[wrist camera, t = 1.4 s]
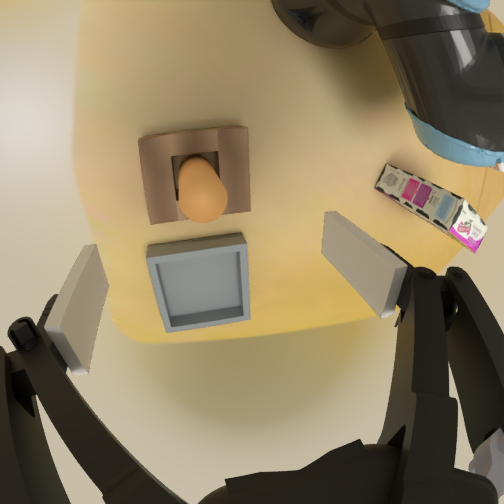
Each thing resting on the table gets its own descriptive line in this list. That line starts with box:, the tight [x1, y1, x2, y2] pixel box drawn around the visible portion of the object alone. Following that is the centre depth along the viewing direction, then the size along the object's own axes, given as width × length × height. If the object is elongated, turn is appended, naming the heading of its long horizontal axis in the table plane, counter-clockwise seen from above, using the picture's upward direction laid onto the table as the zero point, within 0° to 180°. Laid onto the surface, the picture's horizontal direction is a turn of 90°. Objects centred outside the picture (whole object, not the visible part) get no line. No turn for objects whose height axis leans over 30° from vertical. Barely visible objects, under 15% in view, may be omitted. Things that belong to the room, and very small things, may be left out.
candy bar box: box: [375, 164, 488, 253], centre depth 36 cm, size 11×5×16 cm, turn 65°
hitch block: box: [138, 126, 251, 225], centre depth 32 cm, size 12×10×4 cm
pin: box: [179, 154, 228, 223], centre depth 28 cm, size 4×4×13 cm
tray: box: [146, 232, 250, 333], centre depth 40 cm, size 13×13×4 cm
